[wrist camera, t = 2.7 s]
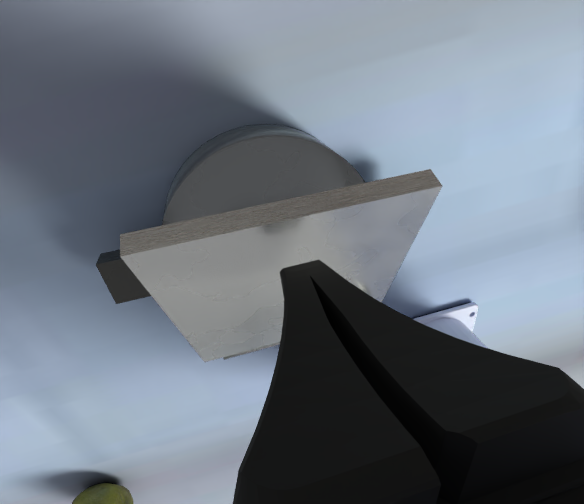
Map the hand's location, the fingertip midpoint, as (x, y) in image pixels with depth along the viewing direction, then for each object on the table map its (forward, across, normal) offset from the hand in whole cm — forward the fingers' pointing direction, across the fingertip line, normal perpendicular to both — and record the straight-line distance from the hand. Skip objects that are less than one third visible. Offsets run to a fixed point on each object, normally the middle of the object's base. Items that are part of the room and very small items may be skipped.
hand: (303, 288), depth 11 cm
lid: (+4, 0, +3) cm, 4 cm away
